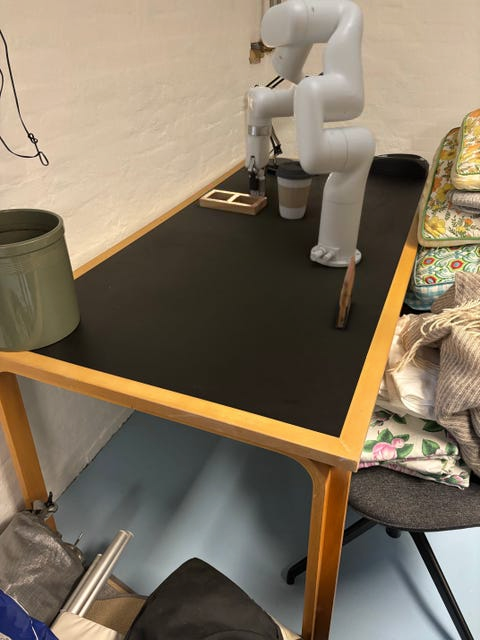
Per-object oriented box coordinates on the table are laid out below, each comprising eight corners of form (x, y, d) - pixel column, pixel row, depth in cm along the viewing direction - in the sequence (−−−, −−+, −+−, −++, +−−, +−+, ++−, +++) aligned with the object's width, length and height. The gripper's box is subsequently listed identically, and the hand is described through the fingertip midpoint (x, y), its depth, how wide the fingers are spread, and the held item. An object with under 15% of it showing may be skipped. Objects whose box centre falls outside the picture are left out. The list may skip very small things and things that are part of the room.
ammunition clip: (342, 301, 109) (349, 251, 102) (351, 303, 108) (358, 252, 102) (335, 327, 100) (342, 274, 94) (344, 329, 100) (352, 275, 93)
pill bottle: (263, 193, 170) (264, 168, 166) (264, 197, 166) (265, 172, 162) (250, 193, 170) (250, 168, 166) (250, 197, 166) (251, 172, 162)
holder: (254, 215, 152) (254, 207, 151) (199, 206, 159) (199, 198, 157) (266, 204, 160) (266, 197, 159) (213, 196, 167) (213, 189, 165)
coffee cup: (317, 219, 150) (322, 168, 142) (283, 223, 147) (286, 172, 139) (299, 206, 159) (303, 158, 151) (267, 211, 156) (269, 162, 148)
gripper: (258, 124, 165) (256, 179, 175) (237, 134, 152) (237, 193, 161) (279, 126, 162) (276, 181, 172) (260, 137, 149) (258, 196, 159)
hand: (257, 186), depth 167 cm, fingers open, 5 cm apart
